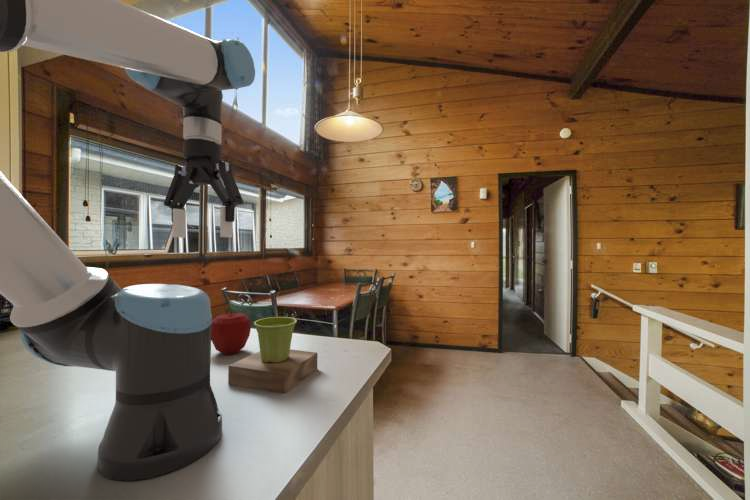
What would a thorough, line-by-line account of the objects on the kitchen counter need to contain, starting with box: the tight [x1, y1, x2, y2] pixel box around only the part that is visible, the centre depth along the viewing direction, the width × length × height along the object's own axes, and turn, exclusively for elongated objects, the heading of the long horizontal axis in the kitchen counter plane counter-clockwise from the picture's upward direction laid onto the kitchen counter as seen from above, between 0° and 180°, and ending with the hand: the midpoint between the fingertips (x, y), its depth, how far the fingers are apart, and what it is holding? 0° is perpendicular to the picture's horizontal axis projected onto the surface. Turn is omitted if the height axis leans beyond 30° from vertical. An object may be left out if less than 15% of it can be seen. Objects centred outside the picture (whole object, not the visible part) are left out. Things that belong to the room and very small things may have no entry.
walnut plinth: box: [227, 348, 318, 394], centre depth 72 cm, size 14×14×4 cm
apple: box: [211, 311, 252, 355], centre depth 89 cm, size 11×11×12 cm
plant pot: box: [253, 316, 298, 363], centre depth 72 cm, size 9×9×9 cm
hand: (202, 237), depth 70 cm, fingers open, 13 cm apart
